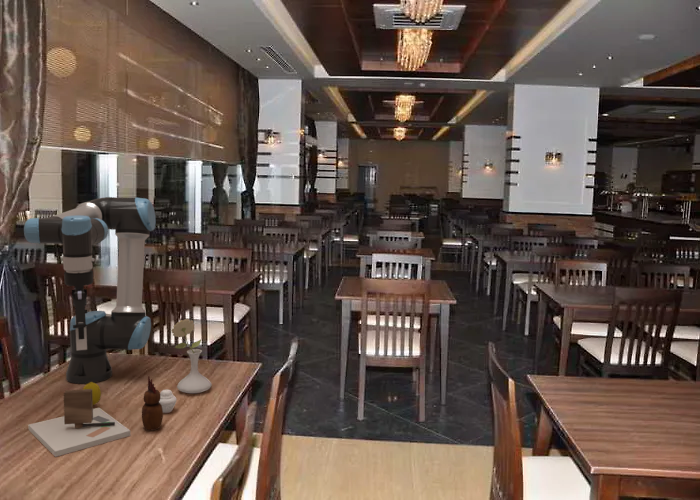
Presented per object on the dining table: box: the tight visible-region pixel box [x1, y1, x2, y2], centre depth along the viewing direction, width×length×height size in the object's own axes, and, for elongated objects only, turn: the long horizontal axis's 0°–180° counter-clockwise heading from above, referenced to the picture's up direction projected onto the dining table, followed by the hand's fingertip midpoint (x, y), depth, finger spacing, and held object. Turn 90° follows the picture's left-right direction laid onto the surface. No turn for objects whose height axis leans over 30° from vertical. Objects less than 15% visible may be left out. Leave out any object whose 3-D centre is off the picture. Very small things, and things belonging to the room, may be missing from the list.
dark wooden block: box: [63, 388, 115, 428], centre depth 172 cm, size 2×13×10 cm, turn 103°
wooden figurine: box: [141, 375, 164, 431], centre depth 176 cm, size 7×6×15 cm
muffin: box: [159, 389, 178, 414], centre depth 189 cm, size 6×6×7 cm
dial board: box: [27, 407, 132, 458], centre depth 173 cm, size 20×22×2 cm
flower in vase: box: [171, 318, 212, 394], centre depth 206 cm, size 13×11×25 cm
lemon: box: [82, 382, 102, 406], centre depth 191 cm, size 6×6×8 cm
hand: (81, 342), depth 177 cm, fingers open, 13 cm apart
